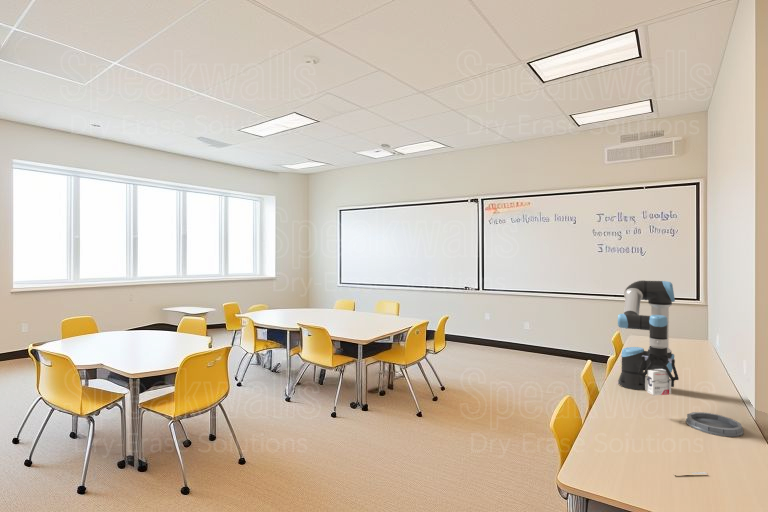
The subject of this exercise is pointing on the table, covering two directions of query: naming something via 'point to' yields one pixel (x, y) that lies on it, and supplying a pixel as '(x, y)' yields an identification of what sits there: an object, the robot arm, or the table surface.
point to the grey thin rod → (699, 473)
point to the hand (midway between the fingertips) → (657, 391)
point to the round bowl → (714, 424)
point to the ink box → (657, 382)
